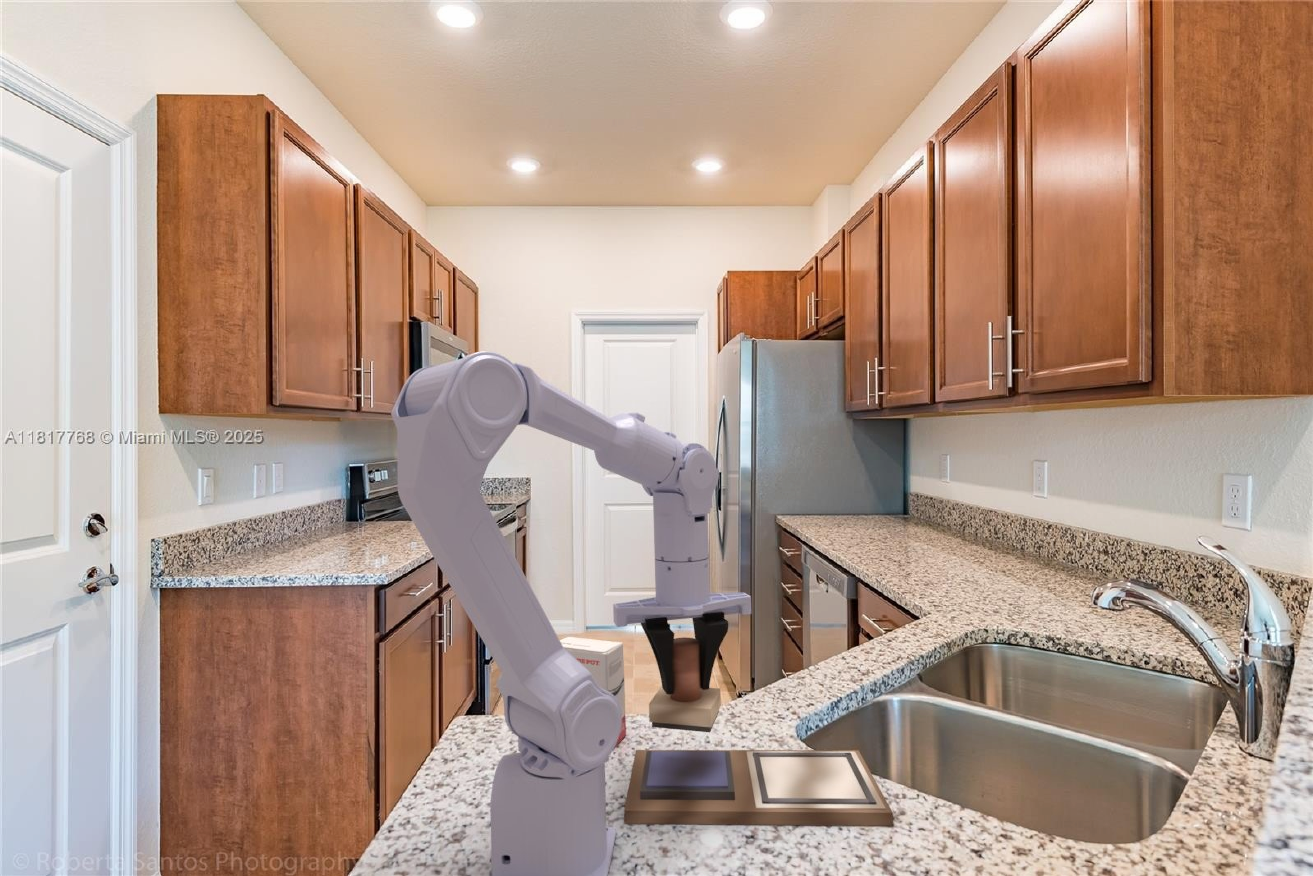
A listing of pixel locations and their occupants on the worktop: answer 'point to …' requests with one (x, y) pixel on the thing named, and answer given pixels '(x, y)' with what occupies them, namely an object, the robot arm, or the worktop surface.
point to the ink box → (602, 666)
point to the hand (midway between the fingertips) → (685, 688)
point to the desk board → (754, 788)
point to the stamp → (685, 694)
